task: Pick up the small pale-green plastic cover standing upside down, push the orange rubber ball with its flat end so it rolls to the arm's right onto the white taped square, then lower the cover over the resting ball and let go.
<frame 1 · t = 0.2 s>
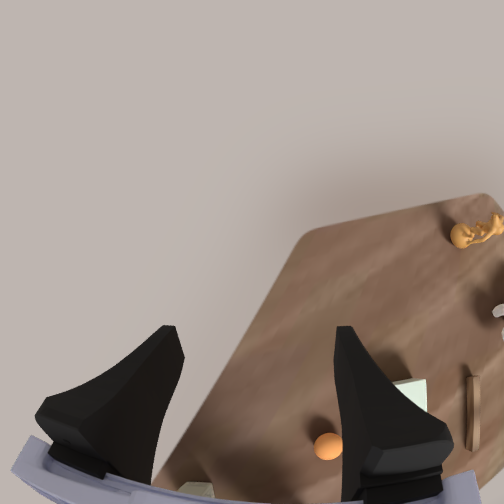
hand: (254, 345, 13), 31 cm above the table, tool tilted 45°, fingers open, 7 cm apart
skincare box: (202, 497, 36), on the table
figurine: (460, 245, 42), on the table
ball: (328, 446, 34), on the table
cover: (389, 401, 37), on the table
stopper: (470, 413, 33), on the table
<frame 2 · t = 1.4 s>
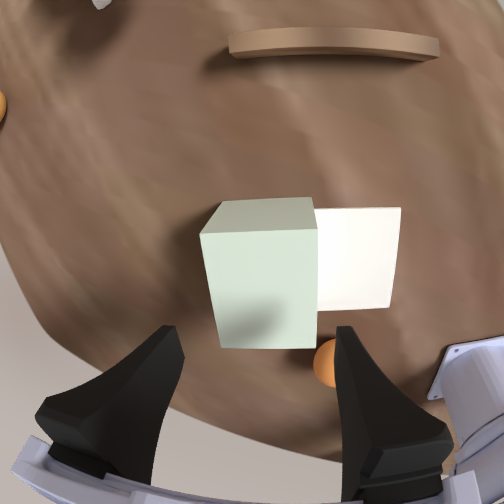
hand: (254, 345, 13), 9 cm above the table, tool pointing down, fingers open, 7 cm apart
figurine: (8, 98, 18), on the table
ball: (338, 362, 23), on the table
cover: (270, 251, 22), on the table
stopper: (334, 45, 15), on the table
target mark: (342, 262, 21), on the table
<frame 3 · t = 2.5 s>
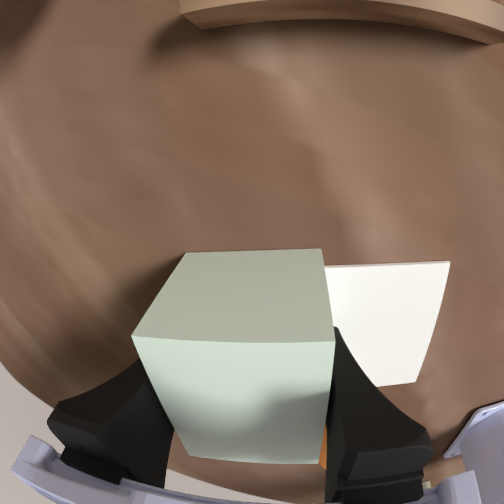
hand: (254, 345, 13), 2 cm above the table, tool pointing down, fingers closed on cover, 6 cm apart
cover: (258, 322, 15), on the table, touching gripper
stopper: (360, 7, 8), on the table
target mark: (360, 335, 14), on the table
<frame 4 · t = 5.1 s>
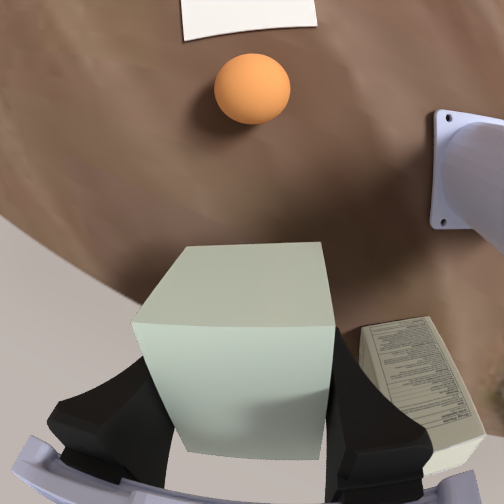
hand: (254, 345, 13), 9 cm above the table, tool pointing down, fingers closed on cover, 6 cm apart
skincare box: (394, 337, 23), on the table
ball: (252, 88, 15), on the table
cover: (258, 317, 15), point 7 cm above the table, touching gripper
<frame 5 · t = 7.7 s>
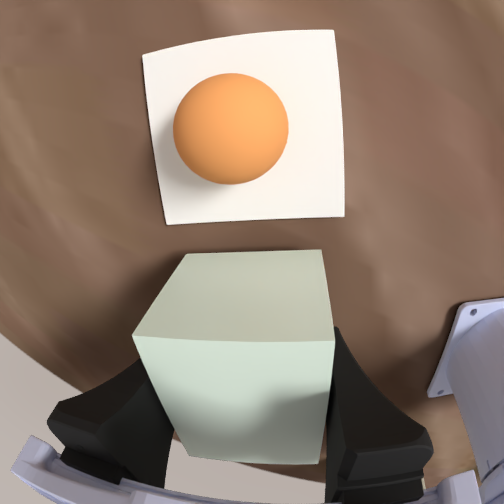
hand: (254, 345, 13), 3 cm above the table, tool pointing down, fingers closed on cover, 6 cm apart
ball: (230, 128, 10), on the table
cover: (258, 323, 15), point 1 cm above the table, touching gripper
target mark: (243, 127, 12), on the table
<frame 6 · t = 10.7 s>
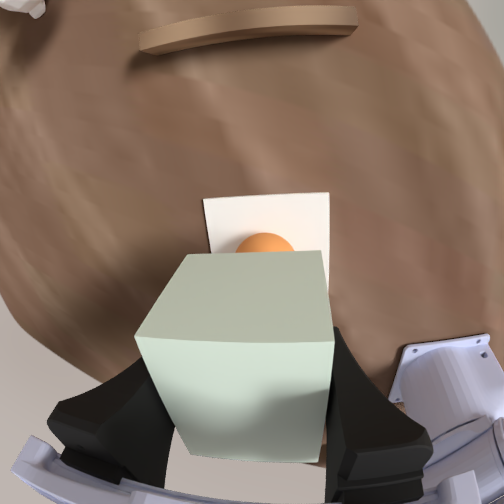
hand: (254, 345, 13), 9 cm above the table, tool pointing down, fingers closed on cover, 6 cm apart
ball: (265, 264, 19), on the table
cover: (259, 323, 15), point 7 cm above the table, touching gripper
stopper: (249, 30, 15), on the table
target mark: (269, 252, 21), on the table
when the fingers open (2 cm above the table, at t = 13.3 s): cover stays where it is, on the table.
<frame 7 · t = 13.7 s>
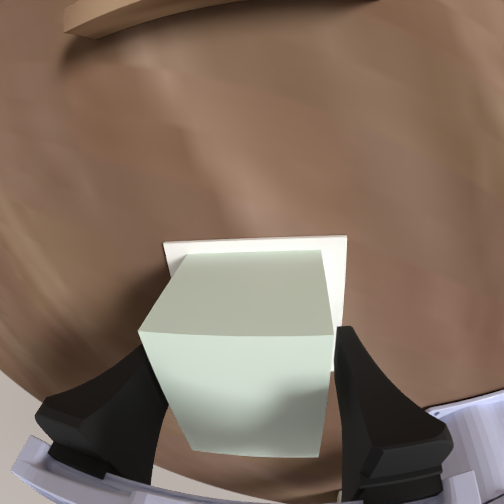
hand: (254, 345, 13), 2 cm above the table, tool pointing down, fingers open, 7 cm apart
cover: (260, 319, 15), on the table
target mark: (259, 314, 15), on the table
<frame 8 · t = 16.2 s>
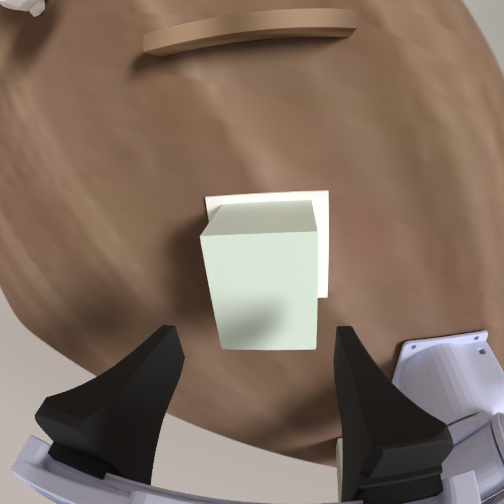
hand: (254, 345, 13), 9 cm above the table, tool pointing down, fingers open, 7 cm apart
skincare box: (361, 440, 32), on the table
cover: (270, 253, 22), on the table
stopper: (250, 32, 15), on the table
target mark: (270, 248, 22), on the table
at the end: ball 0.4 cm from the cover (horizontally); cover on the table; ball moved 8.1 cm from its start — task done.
